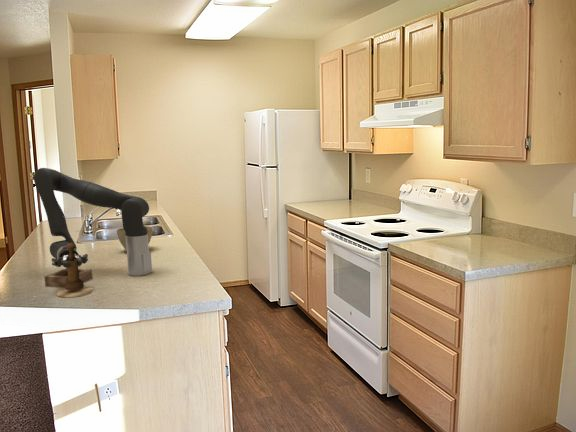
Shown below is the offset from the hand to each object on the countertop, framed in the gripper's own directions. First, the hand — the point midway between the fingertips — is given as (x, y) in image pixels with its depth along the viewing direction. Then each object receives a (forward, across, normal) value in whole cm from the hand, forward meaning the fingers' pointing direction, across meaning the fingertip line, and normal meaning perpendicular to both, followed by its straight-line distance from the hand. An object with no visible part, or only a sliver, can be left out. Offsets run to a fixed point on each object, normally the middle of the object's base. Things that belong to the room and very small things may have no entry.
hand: (73, 264), depth 196 cm
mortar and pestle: (-3, 0, +10) cm, 11 cm away
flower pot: (-65, +38, +13) cm, 77 cm away
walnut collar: (-20, 0, +12) cm, 23 cm away
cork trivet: (-3, 0, +12) cm, 12 cm away
